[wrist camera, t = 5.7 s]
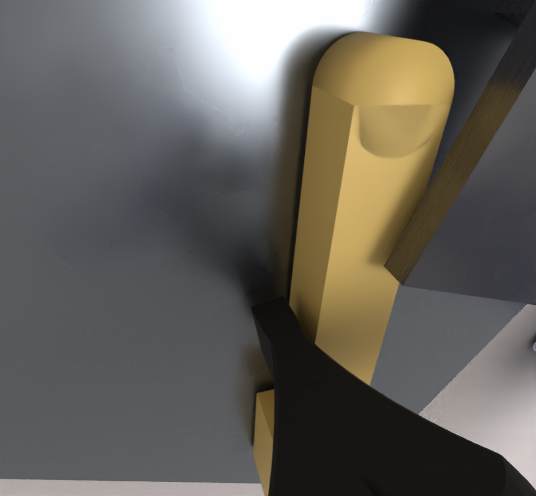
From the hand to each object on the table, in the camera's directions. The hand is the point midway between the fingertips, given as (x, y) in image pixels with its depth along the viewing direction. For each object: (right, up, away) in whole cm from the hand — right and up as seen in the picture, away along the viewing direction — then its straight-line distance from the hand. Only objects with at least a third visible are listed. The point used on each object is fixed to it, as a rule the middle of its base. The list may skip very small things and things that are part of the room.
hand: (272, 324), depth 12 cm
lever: (+2, 0, +1) cm, 2 cm away
